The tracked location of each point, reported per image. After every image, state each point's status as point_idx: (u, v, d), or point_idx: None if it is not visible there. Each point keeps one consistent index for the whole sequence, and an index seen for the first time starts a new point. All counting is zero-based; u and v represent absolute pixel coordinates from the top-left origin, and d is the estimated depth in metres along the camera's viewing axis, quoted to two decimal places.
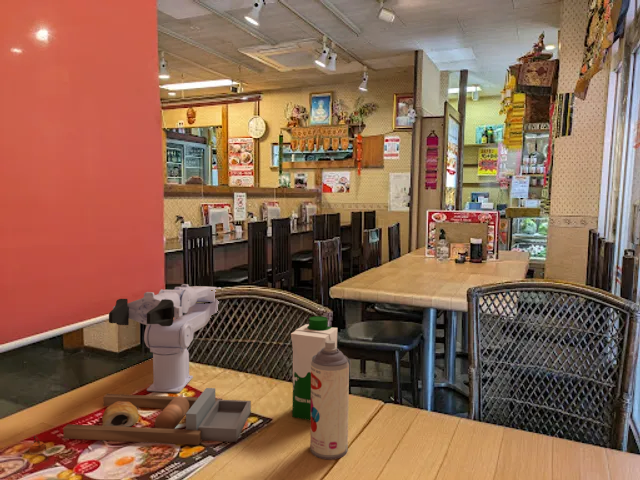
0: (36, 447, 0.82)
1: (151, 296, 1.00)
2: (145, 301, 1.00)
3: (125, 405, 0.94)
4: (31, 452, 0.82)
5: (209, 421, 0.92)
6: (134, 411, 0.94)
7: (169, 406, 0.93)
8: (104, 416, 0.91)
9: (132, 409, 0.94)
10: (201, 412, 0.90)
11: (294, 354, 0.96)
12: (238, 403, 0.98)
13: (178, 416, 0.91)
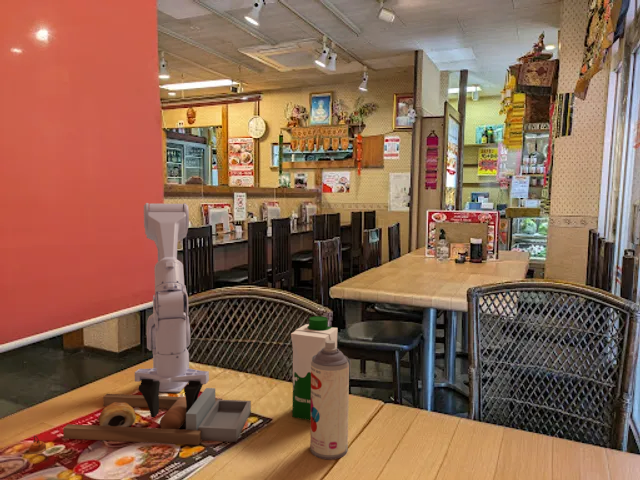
0: (36, 446, 0.82)
1: None
2: None
3: (122, 406, 0.94)
4: (31, 451, 0.82)
5: (209, 421, 0.92)
6: (131, 412, 0.93)
7: (179, 407, 0.92)
8: (101, 417, 0.91)
9: (129, 410, 0.93)
10: (201, 412, 0.90)
11: (294, 354, 0.96)
12: (238, 403, 0.98)
13: (183, 422, 0.91)
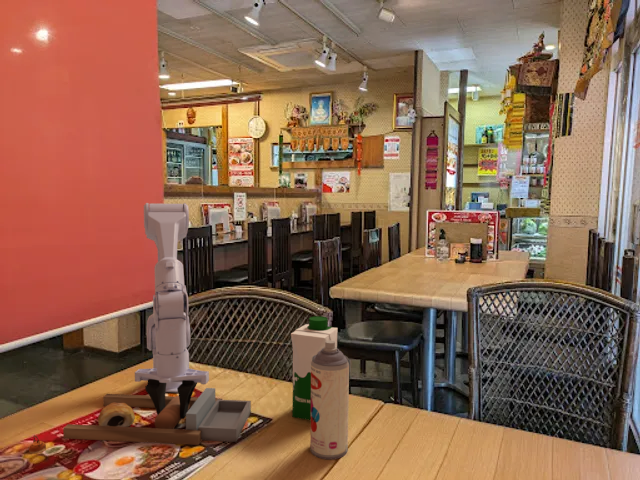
0: (36, 446, 0.83)
1: None
2: None
3: (121, 406, 0.94)
4: (31, 451, 0.82)
5: (209, 421, 0.92)
6: (130, 412, 0.93)
7: (169, 405, 0.93)
8: (100, 417, 0.91)
9: (128, 410, 0.93)
10: (201, 412, 0.90)
11: (294, 354, 0.96)
12: (238, 403, 0.98)
13: (178, 415, 0.91)
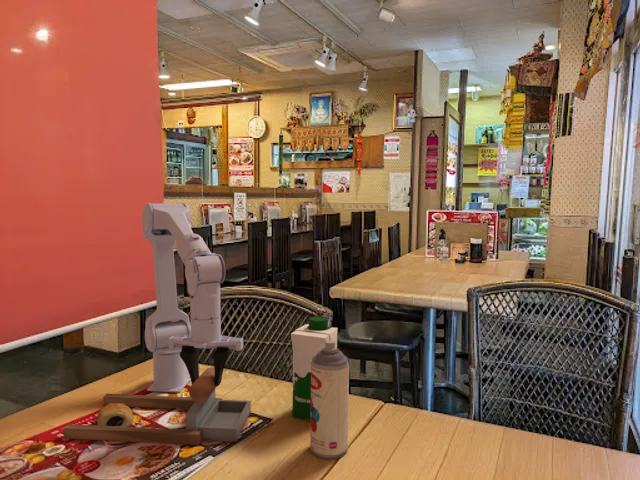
0: (35, 446, 0.83)
1: None
2: None
3: (120, 406, 0.93)
4: (30, 451, 0.82)
5: (209, 421, 0.92)
6: (129, 412, 0.93)
7: (202, 375, 0.91)
8: (99, 418, 0.91)
9: (127, 410, 0.93)
10: (201, 412, 0.90)
11: (294, 354, 0.96)
12: (238, 403, 0.98)
13: (212, 385, 0.90)
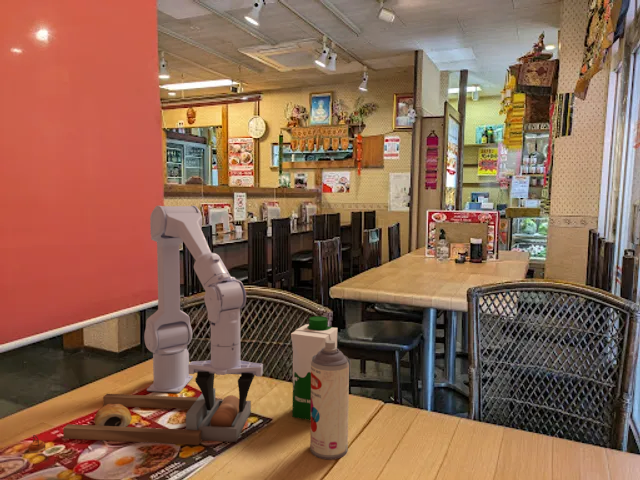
0: (35, 445, 0.83)
1: None
2: None
3: (117, 407, 0.93)
4: (30, 451, 0.82)
5: (209, 421, 0.92)
6: (127, 413, 0.93)
7: (224, 405, 0.92)
8: (96, 419, 0.90)
9: (125, 411, 0.93)
10: (201, 412, 0.90)
11: (294, 354, 0.96)
12: None
13: (233, 416, 0.90)
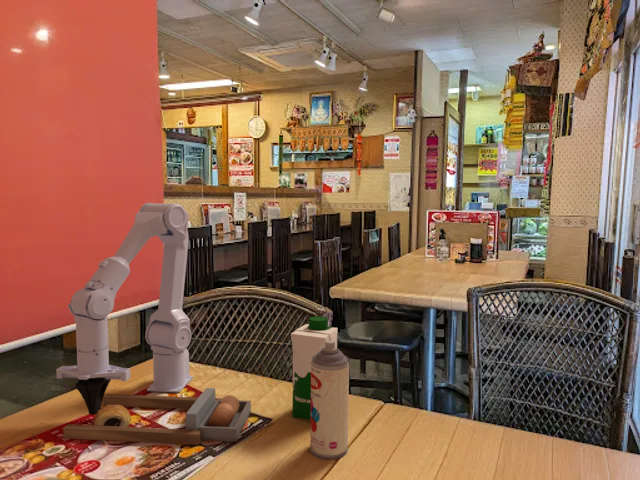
0: (34, 444, 0.83)
1: None
2: None
3: (117, 408, 0.93)
4: (29, 449, 0.83)
5: None
6: (126, 414, 0.92)
7: (220, 405, 0.92)
8: (96, 420, 0.90)
9: (124, 412, 0.92)
10: (201, 412, 0.90)
11: (294, 354, 0.96)
12: None
13: (231, 415, 0.90)
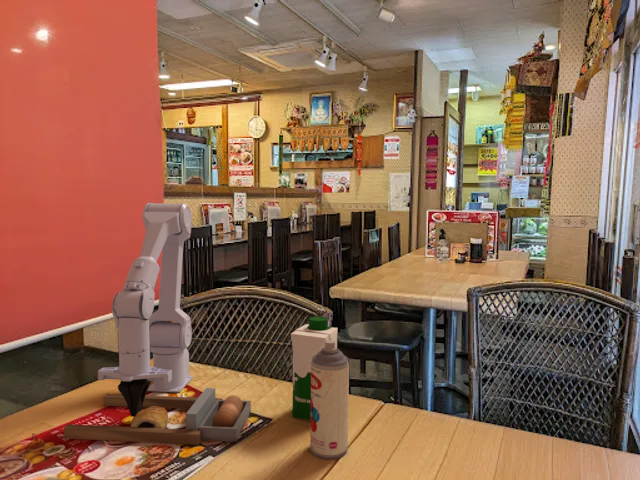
0: (34, 444, 0.83)
1: None
2: None
3: (154, 412, 0.91)
4: (29, 449, 0.83)
5: (209, 421, 0.92)
6: (162, 419, 0.90)
7: (228, 405, 0.91)
8: (132, 421, 0.89)
9: (160, 417, 0.90)
10: (201, 412, 0.90)
11: (294, 354, 0.96)
12: None
13: (235, 418, 0.90)
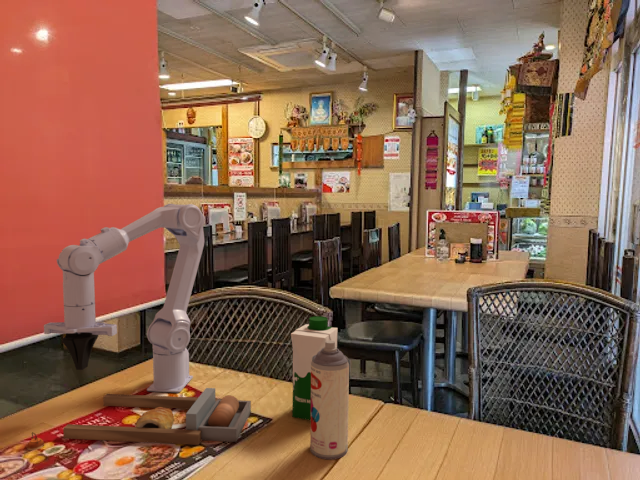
0: (34, 443, 0.84)
1: None
2: None
3: (159, 413, 0.91)
4: (29, 448, 0.83)
5: None
6: (166, 421, 0.90)
7: (220, 405, 0.92)
8: (137, 421, 0.89)
9: (165, 418, 0.90)
10: (201, 412, 0.90)
11: (294, 354, 0.96)
12: None
13: (230, 414, 0.90)
